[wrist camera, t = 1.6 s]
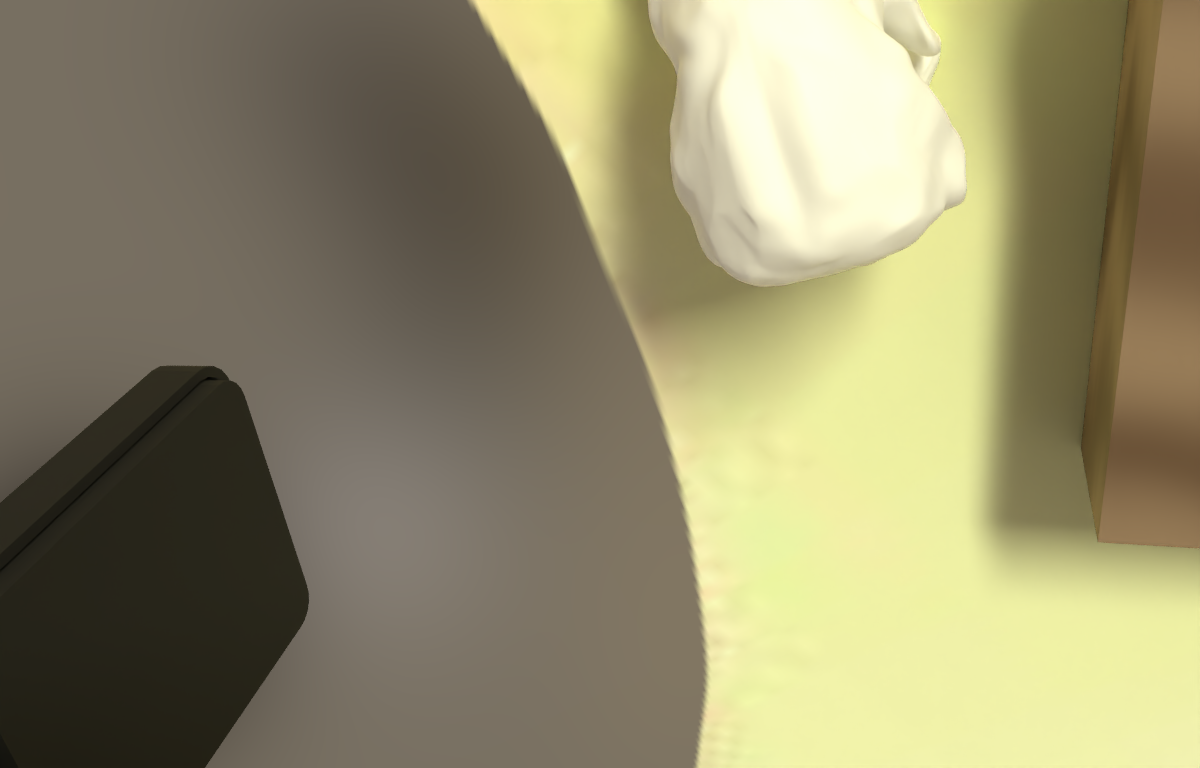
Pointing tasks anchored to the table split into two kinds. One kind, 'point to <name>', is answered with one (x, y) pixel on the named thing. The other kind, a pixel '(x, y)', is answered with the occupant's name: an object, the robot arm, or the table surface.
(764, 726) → the table surface
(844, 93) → the white animal figurine
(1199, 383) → the display ledge
